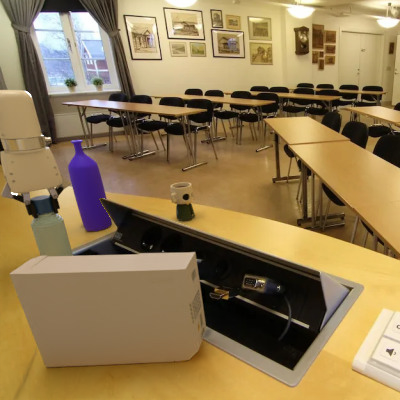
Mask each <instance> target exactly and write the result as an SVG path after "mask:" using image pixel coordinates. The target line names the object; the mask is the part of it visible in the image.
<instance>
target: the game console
mask: <svg viewBox="0 0 400 400" xmlns="http://www.w3.org/2000/svg"><path fill="white" fill-rule="evenodd" d="M9 277H10V280H11V282H12V285H13V288H14V290H15V293H16V295H17V298H18V300H19V303H20V305H21V308H22V310H23V313H24V315H25V318H26V321H27V323H28V326H29V328H30V331H31V333H32V337H33V339H34V341H35V344H36V347H37V348H38V352H39V355H40V356H41V359H42V362H43V365H44V367H45V368H59V367H60V368H61V367H62V368H64V367H83V366H84V367H85V366H108V365H109V366H110V365H128V364H130V365H131V364H152V363H172V362H174V361H175V362H182V361H181V360H189V361H190V360H191V359H192V357H194V356H195V355H196V354H197V353H198V352H199V350H200V348H201V345H202V342H203V338H204V336H205V333H206V331H207V325H206V323H207V322H206V316H205V310H204V303H203V302H204V301H203V296H202V288H201V281H200V275H199V268H198V261H197V254H196V251H190V252H140V253H137V254H136V253H135V254H134V253H133V254H97V255H94V254H93V255H91V254H89V255H73V256H48V255H44V256H40V255H38V256H36V257H32V258H30V259H28V260H27V261H26V262H24V263H23V264H20V266H18V267H17V268H16V269H14V270H12V271H11V272H9Z"/></svg>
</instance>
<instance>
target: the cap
mask: <svg viewBox="0 0 400 400" xmlns="http://www.w3.org/2000/svg"><path fill="white" fill-rule="evenodd" d="M49 195H50V194H49ZM49 195H48V194H47V195H46V194H43V195H37V196H33V197H30V200H31V201H32V203H34V206H35V209H36V212H37V214H45V213H49V212H52V211H53V206H52V203H51V198H50V196H49Z"/></svg>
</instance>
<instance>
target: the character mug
mask: <svg viewBox="0 0 400 400" xmlns="http://www.w3.org/2000/svg"><path fill="white" fill-rule="evenodd" d="M169 187H170V188H169V189H170V193H171V194H170V200H171V203H172V204H175V205H176V206H175V216H176V219H178V220H181V221H188V220H191V219H193V218H195V216H196V215H195V211H194V207H193V204H192V202H193V201H194V197H195V196H194V189H193V185H192V182H187V181H182V182H176V183H173V184H170V186H169Z"/></svg>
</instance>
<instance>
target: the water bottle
mask: <svg viewBox="0 0 400 400" xmlns="http://www.w3.org/2000/svg"><path fill="white" fill-rule="evenodd" d="M37 215H38V218H36V219H34V218H32V220H31V222H30V227H31V231H32V234H33V236H34V241H35V243H36V247H37V249H38V252H39V256H44V255H48V256H74V253H73V250H72V246H71V242H70V239H69V236H68V235H69V234H68V231H67V228H66V224H65V221H64V217H62V216H61V215H60V214H59V213H57V214H56V213H54V212H53V211H52V212H49V213H45V214H37Z"/></svg>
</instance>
